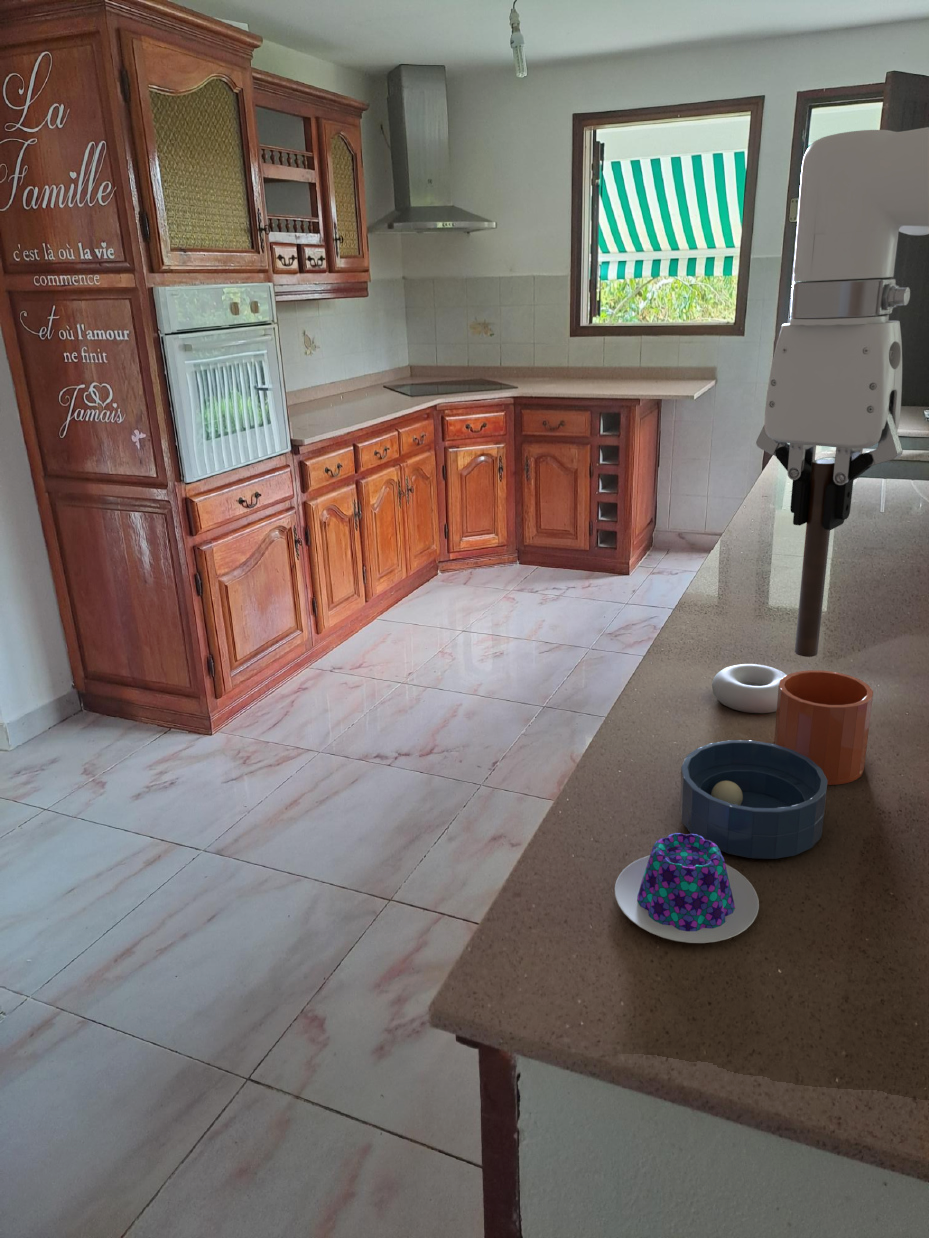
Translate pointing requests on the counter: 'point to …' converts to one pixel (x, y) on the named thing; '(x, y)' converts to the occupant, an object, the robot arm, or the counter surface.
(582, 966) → the counter surface
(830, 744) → the crock
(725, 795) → the dough ball
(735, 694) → the donut
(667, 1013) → the counter surface
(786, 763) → the bowl
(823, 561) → the stick
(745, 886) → the pudding
